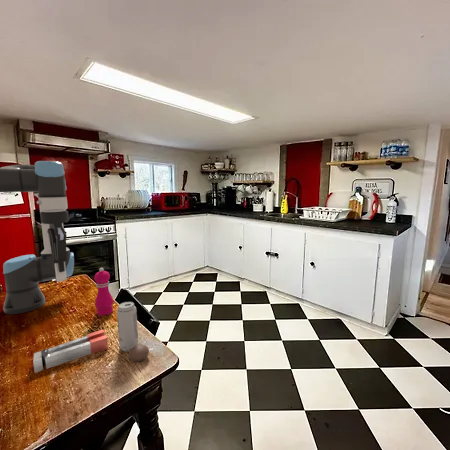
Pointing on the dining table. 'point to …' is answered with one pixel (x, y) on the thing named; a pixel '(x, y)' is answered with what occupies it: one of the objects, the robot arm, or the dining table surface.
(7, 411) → the dining table surface
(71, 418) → the dining table surface
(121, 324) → the energy drink can
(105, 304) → the pepper mill
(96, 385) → the dining table surface
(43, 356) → the tongs fixed
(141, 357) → the egg
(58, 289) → the dining table surface
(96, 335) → the tongs arm
